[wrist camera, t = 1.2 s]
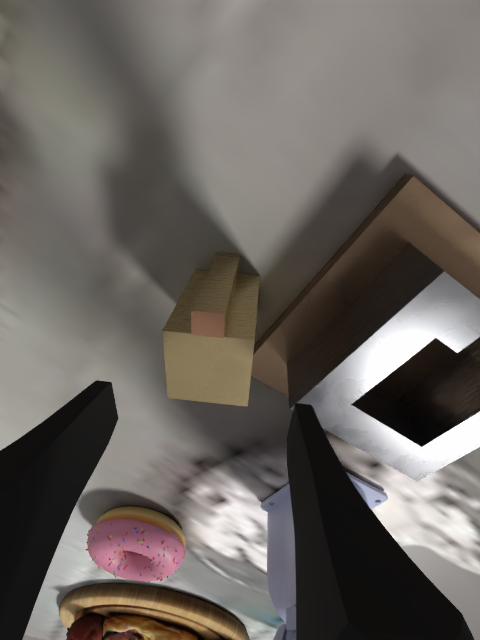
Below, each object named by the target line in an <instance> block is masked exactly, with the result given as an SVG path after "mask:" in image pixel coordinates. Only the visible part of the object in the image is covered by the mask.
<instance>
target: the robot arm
mask: <svg viewBox="0 0 480 640" xmlns="http://www.w3.org/2000/svg"><path fill="white" fill-rule="evenodd" d="M117 420H118V415H117V409H116V404H115V399H114V394H113V388H112V383H111V382H105V381H95V382H94V383H92V384H91V385H90V386H88V387H87V388H86V389H85V390H83V391H82V392H81V393H80V394H78V395H77V396H76V397H75V398H73V399H72V400H71V401H69V402H68V403H67V404H66V405H64V406H63V407H62V408H60V409H59V410H58V411H57V412H55V413H54V414H53V415H51V416H50V417H49V418H47V419H46V420H45V421H43V422H42V423H41V424H39V425H38V426H36V427H35V428H34V429H32V430H31V431H29V432H28V433H26V434H25V435H24V436H22V437H21V438H19V439H18V440H16V441H15V442H13V443H12V444H10V445H9V446H7V447H6V448H4V449H2V450H1V451H0V640H22V639H23V636H24V633H25V630H26V628H27V625H28V622H29V619H30V616H31V613H32V611H33V608H34V605H35V602H36V600H37V597H38V594H39V592H40V589H41V586H42V584H43V581H44V579H45V576H46V573H47V571H48V568H49V566H50V563H51V561H52V558H53V556H54V553H55V551H56V548H57V546H58V544H59V541H60V539H61V536H62V534H63V532H64V529H65V527H66V525H67V522H68V520H69V518H70V515H71V513H72V511H73V509H74V507H75V505H76V503H77V501H78V499H79V497H80V495H81V493H82V491H83V490H84V488H85V486H86V484H87V482H88V480H89V479H90V477H91V475H92V473H93V471H94V469H95V468H96V466H97V464H98V462H99V460H100V458H101V456H102V455H103V453H104V451H105V449H106V447H107V445H108V443H109V441H110V438H111V436H112V433H113V431H114V428H115V426H116V423H117ZM287 467H288V477H289V483H288V484H287V485H286V486H284V487H283V488H281V489H280V490H279V491H277V492H276V493H274V494H273V495H272V496H270V497H269V498H268V499H266V500H265V501H263V502H262V503H261V509H262V510H264V511H266V512H268V538H267V582H268V588H269V592H270V596H271V599H272V602H273V605H274V607H275V609H276V611H277V613H278V614H279V615H280V617H281V618H282V619H283V620H284V621H285V622H286V624H282V625H281V626H280V627H279V628H278V630H277V632H276V635H275V637H274V639H273V640H474V638H473V636H472V633H471V631H470V630H469V628H468V625H467V623H466V622H465V620H464V617H463V615H462V613H461V612H460V611H459V610H458V609H457V608H456V607H455V606H454V605H453V604H452V603H451V602H450V601H449V600H448V599H447V598H446V597H445V596H444V595H443V594H442V593H441V592H440V591H439V590H438V589H437V587H436V586H435V585H434V584H433V583H432V582H431V581H430V580H429V579H428V578H427V577H426V576H425V575H424V573H423V572H422V571H421V570H420V569H419V568H418V567H417V566H416V564H415V563H414V562H413V561H412V560H411V559H410V558H409V557H408V555H407V554H406V553H405V552H404V551H403V549H402V548H401V547H400V546H399V544H398V543H397V542H396V541H395V540H394V538H393V537H392V536H391V535H390V533H389V532H388V531H387V530H386V529H385V527H384V526H383V525H382V523H381V522H380V521H379V519H378V518H377V517H376V515H375V514H374V513H373V511H372V510H371V509H372V508H374V507H375V506H377V505H379V504H381V503H383V502H385V501H386V500H387V499H388V497H387V494H386V493H385V492H383V491H381V490H379V489H377V488H375V487H373V486H371V485H370V484H368V483H366V482H364V481H362V480H360V479H358V478H356V477H355V476H353V475H351V474H349V473H347V472H346V471H345V469H344V468H343V466H342V464H341V463H340V461H339V459H338V457H337V456H336V454H335V452H334V450H333V448H332V446H331V445H330V443H329V441H328V439H327V437H326V435H325V433H324V431H323V429H322V426H321V424H320V422H319V420H318V418H317V415H316V413H315V411H314V408H313V406H312V405H310V404H301V403H295V405H294V410H293V414H292V419H291V423H290V428H289V432H288V437H287Z"/></svg>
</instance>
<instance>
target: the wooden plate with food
mask: <svg viewBox="0 0 480 640" xmlns="http://www.w3.org/2000/svg"><path fill="white" fill-rule="evenodd" d="M59 616H60V620H61V621H62V623H63V625H64V626H65V627H66V628H67V630H68V632H67V634H66V635H67V640H249V636H248V633H247V631H246V630H245V628H244V627H243V626H242V625H241V623H240V622H239V621H238V620H236V619H235V618H234V617H232V616H231V615H230V614H228V613H227V612H225V611H223V610H221V609H220V608H218V607H216V606H214V605H212V604H210V603H207V602H205V601H203V600H200V599H197V598H194V597H191V596H188V595H186V594H182V593H179V592H175V591H172V590H168V589H163V588H159V587H154V586H147V585H138V584H127V583H104V584H94V585H89V586H84V587H81V588H78V589H75V590H73V591H72V592H70V593H69V594H68V595H67V596H66V597H65V598H64V599H63V601H62V602H61V605H60V607H59Z"/></svg>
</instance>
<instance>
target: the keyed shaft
mask: <svg viewBox="0 0 480 640" xmlns="http://www.w3.org/2000/svg"><path fill="white" fill-rule="evenodd" d="M239 265H240V255H239V254H227V253H216V256H215V258H214V260H213V262H212V265H211V267H210V269H209V271H208V270H197V269H196V270H195V271H194V273H193V275H192V277H191V279H190V281H189V282H188V284H187V286H186V288H185V290H184V292H183V294H182V295H181V297H180V299H179V301H178V303H177V305H176V306H175V308H174V310H173V312H172V314H171V316H170V317H169V319H168V321H167V323H166V325H165V327H164V328H163V330H162V334H163V347H164V360H165V372H166V385H167V398H173V399H182V400H191V401H200V402H209V403H218V404H227V405H236V406H246V407H248V399H249V389H250V380H251V370H252V361H253V351H254V342H255V330H256V318H257V306H258V293H259V281H260V275H252V274H241V273H239Z"/></svg>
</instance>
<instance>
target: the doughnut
mask: <svg viewBox="0 0 480 640" xmlns="http://www.w3.org/2000/svg"><path fill="white" fill-rule="evenodd" d="M87 535H88V539H87V540H88V541H87V543H88V549H86V550H88V551H89V554H90V556H91V558H92V561H94V562H95V563H96V564H97V565H98V567H99V568H102V569H104V570H105V571H107V572H109V573H111V574H113V575H115V577H116V576H119V577H122V578H125V579H130V580H136V581H148V582H150V581H155V580H160V579H161V580H162V579H164V578H166V577H167V578H168V576H170V575H171V574H173V573H174V572H176V570H177V569H178V568H179V566H180V565H181V563H182V561H183V559H184V557H185V537H184V534H183V532H182V530H181V528H180V527H179V526H178V525H177V524H176V523H175V522H174V521H173V520H172V519H170V518H169V517H167V516H166V515H164V514H162V513H160V512H157V511H154V510H151V509H148V508H143V507H133V506H127V507H119V508H115V509H112V510H110V511H108V512H106V513H104V514H103V515H102V516H100V517H99V518H98V520H97V521H96V523H95V524H94V525H93V527H92V528H91V529H90V530H89V534H87ZM161 580H160V581H161Z"/></svg>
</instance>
